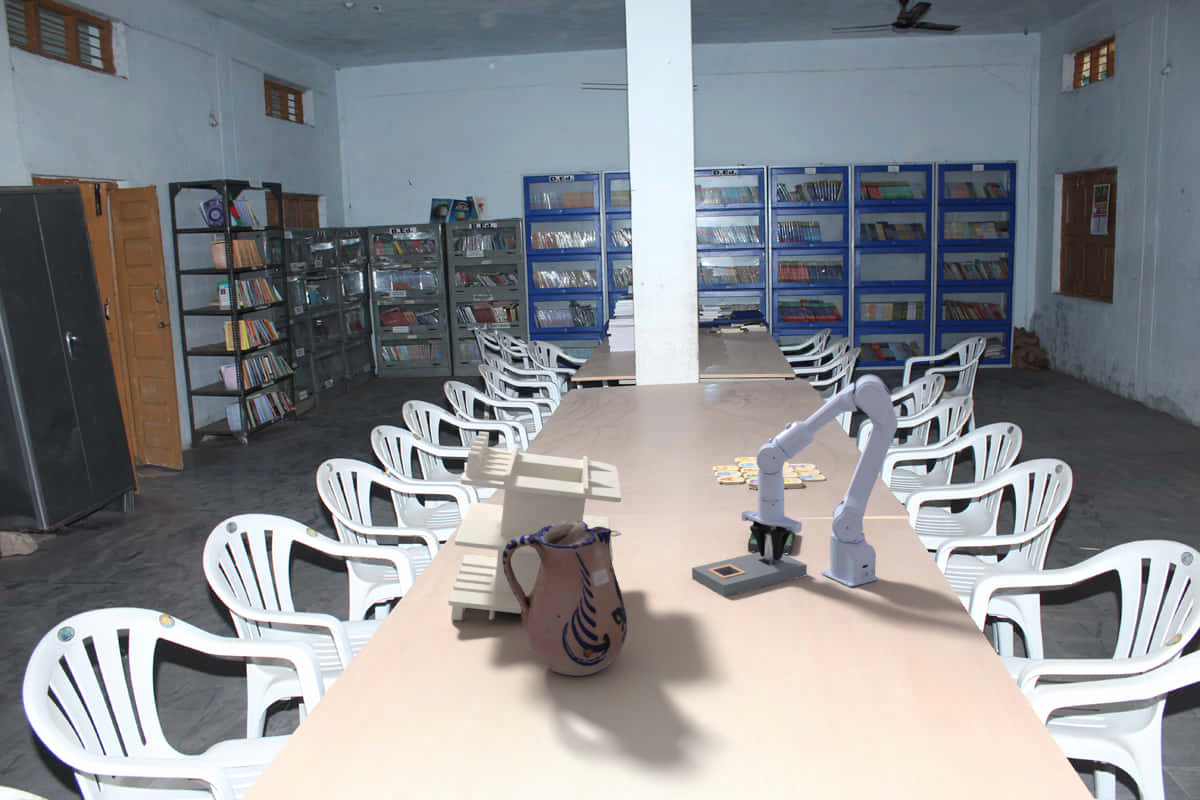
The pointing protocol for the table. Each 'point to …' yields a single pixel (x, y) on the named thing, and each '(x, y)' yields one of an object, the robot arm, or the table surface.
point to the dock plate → (746, 573)
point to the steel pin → (768, 549)
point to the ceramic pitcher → (571, 598)
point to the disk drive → (752, 541)
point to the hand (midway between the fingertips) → (771, 557)
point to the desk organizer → (520, 517)
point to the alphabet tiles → (750, 473)
